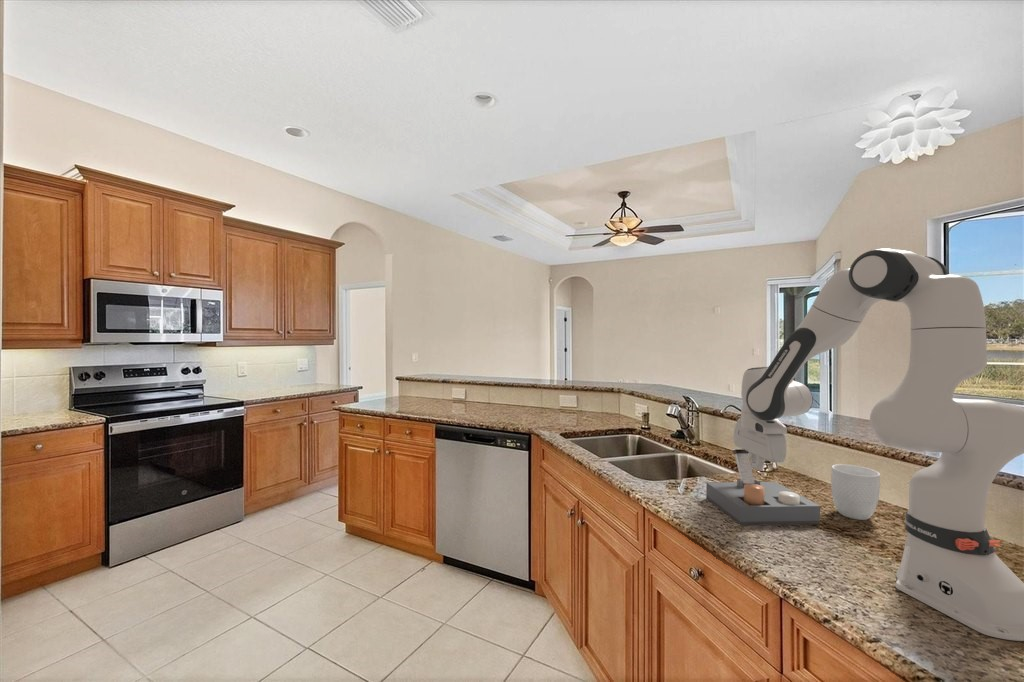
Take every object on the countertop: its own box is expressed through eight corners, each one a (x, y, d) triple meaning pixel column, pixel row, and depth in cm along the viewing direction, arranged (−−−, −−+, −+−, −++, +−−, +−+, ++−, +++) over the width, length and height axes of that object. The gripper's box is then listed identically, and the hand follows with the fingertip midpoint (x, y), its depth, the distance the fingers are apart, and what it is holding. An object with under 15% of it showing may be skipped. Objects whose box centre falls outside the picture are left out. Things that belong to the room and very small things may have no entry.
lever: (756, 485, 134) (748, 449, 139) (743, 486, 134) (735, 449, 139) (753, 486, 136) (745, 450, 140) (741, 486, 136) (733, 450, 140)
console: (819, 524, 121) (820, 498, 121) (740, 525, 120) (741, 499, 120) (775, 497, 140) (775, 475, 140) (706, 498, 139) (706, 476, 139)
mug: (840, 501, 137) (842, 459, 137) (886, 513, 129) (888, 468, 128) (824, 514, 128) (825, 468, 127) (873, 527, 119) (874, 479, 119)
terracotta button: (768, 508, 122) (768, 489, 121) (750, 508, 121) (750, 490, 121) (757, 500, 127) (757, 483, 126) (740, 501, 126) (740, 483, 126)
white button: (803, 515, 122) (804, 497, 122) (785, 516, 122) (786, 498, 122) (791, 508, 127) (791, 491, 127) (774, 508, 127) (774, 491, 127)
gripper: (728, 415, 141) (727, 459, 141) (768, 429, 120) (767, 480, 121) (747, 415, 141) (746, 459, 141) (791, 429, 121) (790, 480, 121)
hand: (756, 469), depth 131 cm, fingers closed
